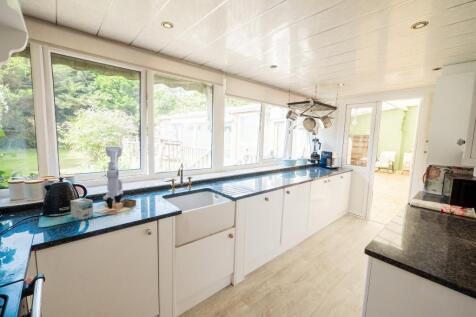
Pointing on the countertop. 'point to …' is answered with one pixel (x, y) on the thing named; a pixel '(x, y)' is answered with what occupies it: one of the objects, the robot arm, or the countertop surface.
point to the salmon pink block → (115, 205)
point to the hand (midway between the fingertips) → (113, 207)
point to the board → (114, 211)
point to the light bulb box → (81, 208)
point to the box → (128, 202)
